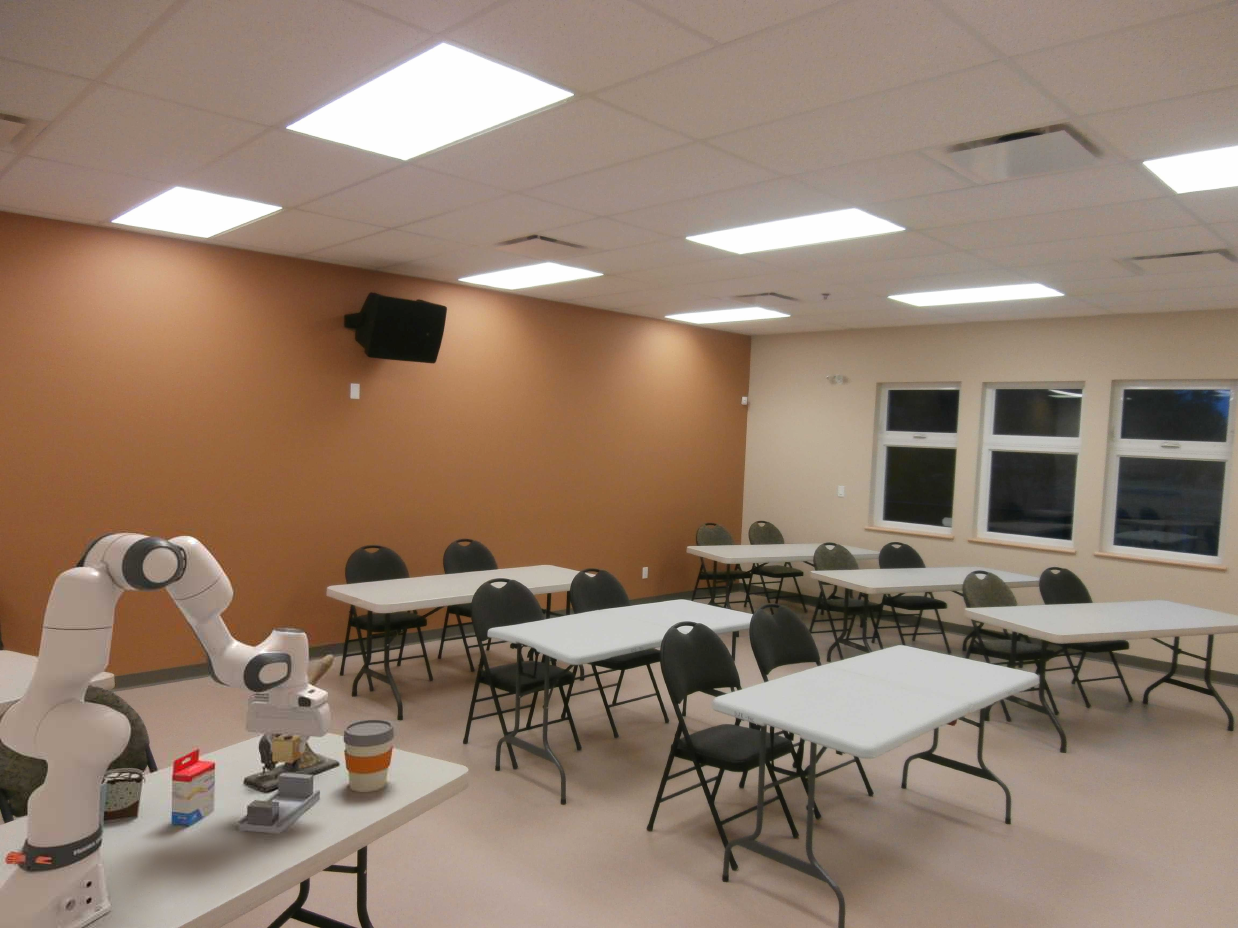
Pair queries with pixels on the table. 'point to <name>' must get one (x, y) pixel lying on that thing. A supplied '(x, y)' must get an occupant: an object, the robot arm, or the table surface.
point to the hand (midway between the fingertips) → (287, 751)
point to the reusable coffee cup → (368, 753)
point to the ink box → (192, 789)
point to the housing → (286, 748)
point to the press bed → (287, 802)
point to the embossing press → (304, 764)
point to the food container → (122, 794)
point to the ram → (263, 812)
